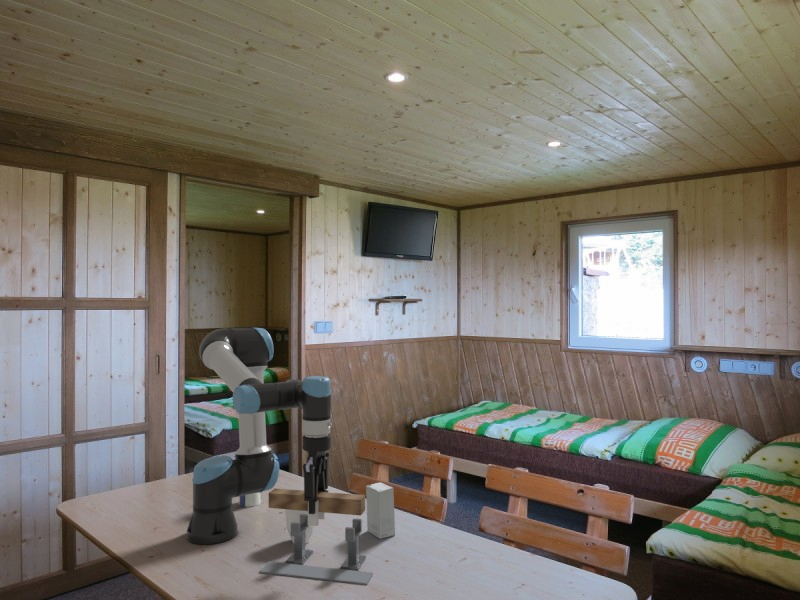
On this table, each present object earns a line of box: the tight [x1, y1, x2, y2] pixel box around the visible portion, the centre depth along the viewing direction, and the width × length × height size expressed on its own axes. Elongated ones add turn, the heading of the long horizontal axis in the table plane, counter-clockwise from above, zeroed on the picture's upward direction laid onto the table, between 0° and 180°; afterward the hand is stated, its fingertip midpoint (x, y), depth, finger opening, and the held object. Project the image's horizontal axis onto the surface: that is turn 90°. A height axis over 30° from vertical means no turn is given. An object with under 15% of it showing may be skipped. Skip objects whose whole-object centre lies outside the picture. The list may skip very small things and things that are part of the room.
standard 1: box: [285, 514, 314, 565], centre depth 162 cm, size 5×8×11 cm, turn 167°
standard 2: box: [339, 518, 367, 571], centre depth 159 cm, size 5×8×11 cm, turn 167°
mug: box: [284, 509, 316, 545], centre depth 175 cm, size 12×9×12 cm
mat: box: [259, 560, 374, 586], centre depth 153 cm, size 30×6×1 cm, turn 77°
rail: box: [268, 488, 366, 516], centre depth 153 cm, size 26×4×4 cm, turn 77°
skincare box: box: [365, 482, 396, 540], centre depth 180 cm, size 8×6×15 cm
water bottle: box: [238, 493, 261, 508], centre depth 207 cm, size 8×8×25 cm
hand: (316, 521), depth 153 cm, fingers closed on rail, 4 cm apart
